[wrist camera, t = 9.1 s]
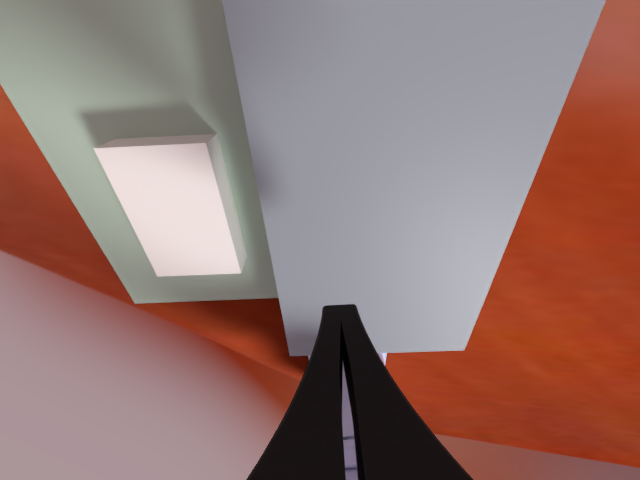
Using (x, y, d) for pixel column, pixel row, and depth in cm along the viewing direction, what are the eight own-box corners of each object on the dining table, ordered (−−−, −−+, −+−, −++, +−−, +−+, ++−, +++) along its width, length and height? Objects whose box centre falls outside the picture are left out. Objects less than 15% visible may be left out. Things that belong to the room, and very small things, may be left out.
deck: (445, 311, 25) (464, 350, 22) (293, 317, 26) (289, 356, 22) (559, -70, 12) (653, -117, 8) (236, -46, 12) (205, -84, 9)
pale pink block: (157, 276, 20) (170, 259, 21) (241, 273, 19) (247, 256, 21) (93, 148, 15) (116, 138, 16) (205, 142, 14) (217, 133, 16)
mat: (284, 294, 24) (283, 297, 24) (137, 300, 24) (135, 303, 24) (230, -15, 13) (228, -17, 12) (-41, 3, 13) (-51, 2, 13)
